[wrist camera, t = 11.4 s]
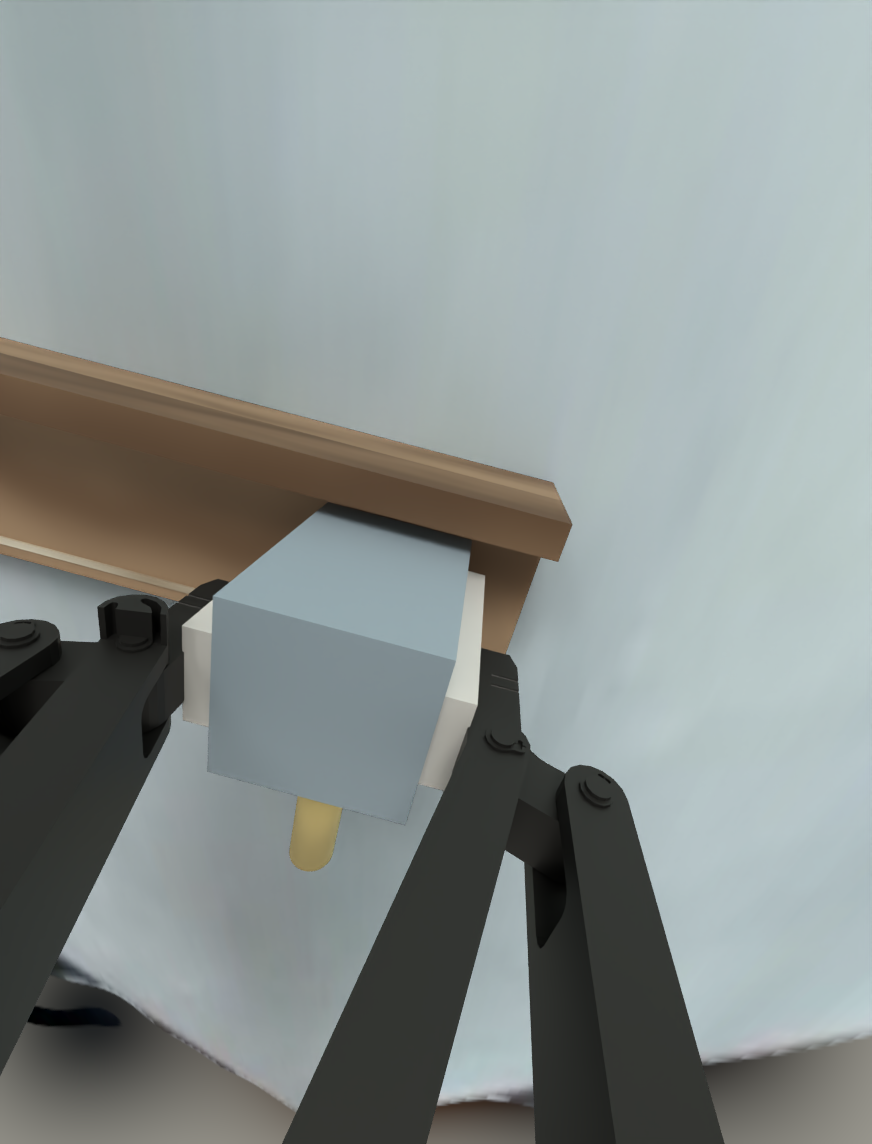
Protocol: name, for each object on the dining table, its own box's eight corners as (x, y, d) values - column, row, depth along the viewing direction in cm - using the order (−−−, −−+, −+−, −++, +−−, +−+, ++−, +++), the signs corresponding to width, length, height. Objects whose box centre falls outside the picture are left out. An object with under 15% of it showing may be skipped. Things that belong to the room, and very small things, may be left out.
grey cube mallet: (327, 502, 16) (212, 596, 9) (472, 540, 16) (455, 660, 9) (297, 723, 20) (203, 892, 13) (410, 753, 20) (370, 937, 13)
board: (-148, 298, 18) (-365, 277, 13) (553, 482, 18) (572, 524, 13) (-94, 494, 21) (-252, 529, 17) (494, 651, 21) (493, 730, 17)
